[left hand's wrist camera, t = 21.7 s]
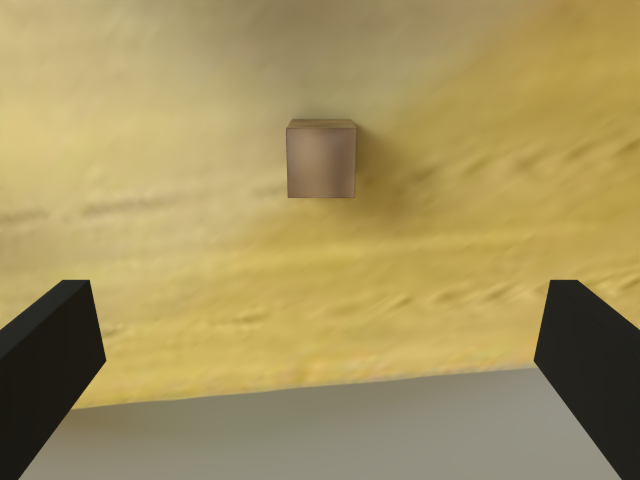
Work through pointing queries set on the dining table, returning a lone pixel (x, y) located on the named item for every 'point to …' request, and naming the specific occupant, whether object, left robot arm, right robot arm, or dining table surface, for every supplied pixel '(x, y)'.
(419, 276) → the dining table surface
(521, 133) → the dining table surface
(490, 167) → the dining table surface
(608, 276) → the dining table surface
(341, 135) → the block
